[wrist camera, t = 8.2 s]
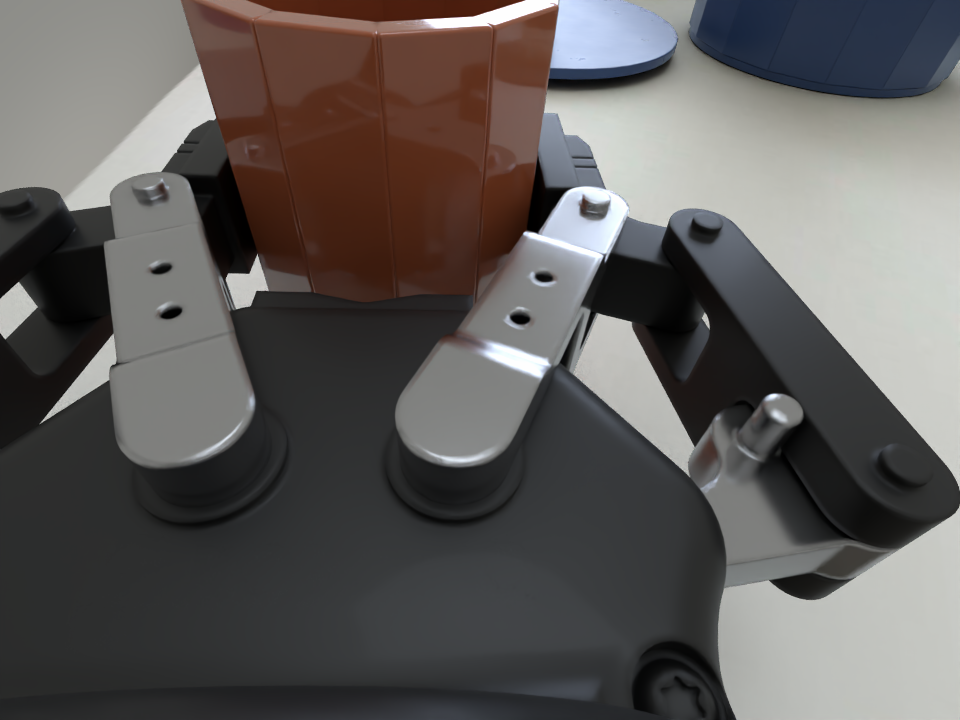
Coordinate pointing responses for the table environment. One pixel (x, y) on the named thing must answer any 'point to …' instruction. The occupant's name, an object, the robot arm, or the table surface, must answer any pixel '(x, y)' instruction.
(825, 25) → the pot
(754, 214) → the table surface
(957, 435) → the table surface
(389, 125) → the cup
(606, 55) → the lid
